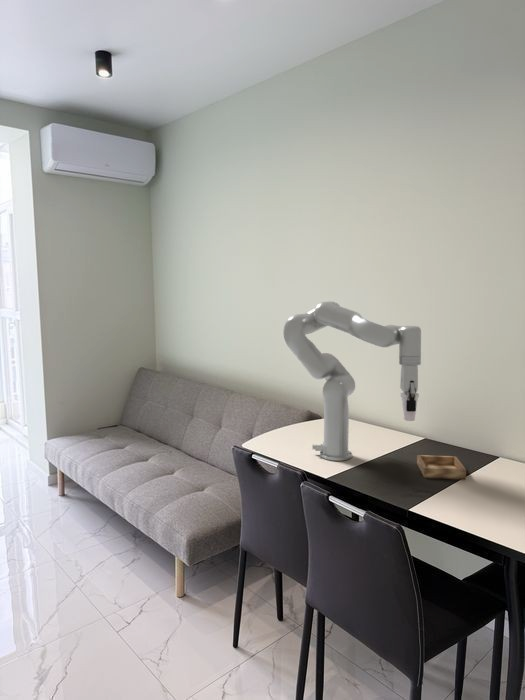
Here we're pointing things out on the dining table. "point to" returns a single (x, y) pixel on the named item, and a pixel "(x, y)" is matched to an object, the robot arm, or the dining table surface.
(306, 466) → the dining table surface
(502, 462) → the dining table surface
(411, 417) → the smoothie
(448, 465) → the box
